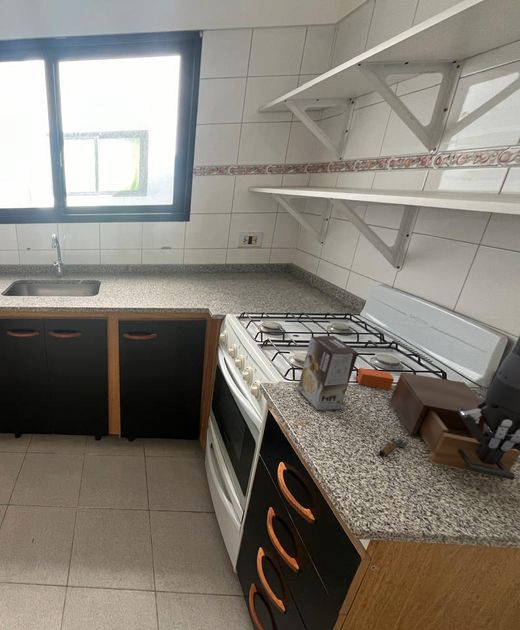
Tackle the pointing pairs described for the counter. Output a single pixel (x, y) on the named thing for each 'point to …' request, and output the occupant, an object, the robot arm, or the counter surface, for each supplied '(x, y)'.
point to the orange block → (375, 378)
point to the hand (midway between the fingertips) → (484, 460)
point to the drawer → (460, 445)
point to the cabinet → (429, 398)
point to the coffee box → (326, 372)
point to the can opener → (392, 446)
